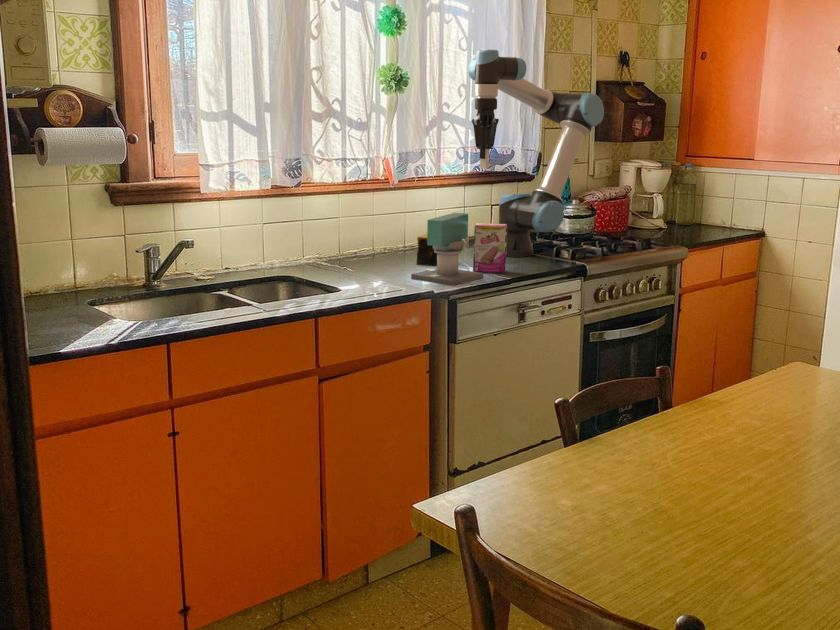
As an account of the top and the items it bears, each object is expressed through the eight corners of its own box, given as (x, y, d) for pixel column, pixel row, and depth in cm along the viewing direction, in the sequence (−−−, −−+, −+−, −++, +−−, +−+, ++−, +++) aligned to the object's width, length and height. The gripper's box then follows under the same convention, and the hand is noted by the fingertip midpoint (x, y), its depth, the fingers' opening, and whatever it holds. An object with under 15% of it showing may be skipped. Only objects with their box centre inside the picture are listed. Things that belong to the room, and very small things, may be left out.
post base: (442, 271, 290) (443, 243, 287) (483, 277, 279) (484, 249, 277) (411, 278, 277) (411, 249, 275) (452, 285, 267) (453, 256, 264)
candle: (416, 264, 301) (416, 237, 299) (426, 260, 310) (426, 233, 308) (442, 267, 298) (443, 238, 295) (452, 262, 307) (452, 235, 304)
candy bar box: (472, 272, 288) (474, 224, 284) (473, 270, 292) (474, 222, 288) (505, 273, 286) (507, 225, 283) (505, 270, 291) (507, 223, 287)
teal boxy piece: (420, 252, 269) (420, 219, 266) (447, 243, 287) (447, 212, 285) (448, 254, 265) (449, 221, 262) (474, 245, 283) (475, 214, 280)
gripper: (487, 97, 291) (485, 166, 297) (465, 97, 281) (464, 168, 287) (506, 97, 287) (503, 168, 292) (484, 97, 277) (482, 170, 283)
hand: (484, 168), depth 290 cm, fingers closed
